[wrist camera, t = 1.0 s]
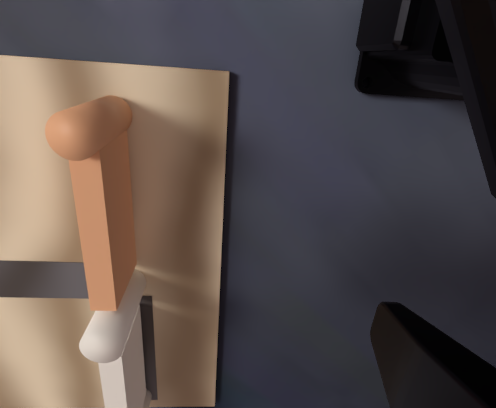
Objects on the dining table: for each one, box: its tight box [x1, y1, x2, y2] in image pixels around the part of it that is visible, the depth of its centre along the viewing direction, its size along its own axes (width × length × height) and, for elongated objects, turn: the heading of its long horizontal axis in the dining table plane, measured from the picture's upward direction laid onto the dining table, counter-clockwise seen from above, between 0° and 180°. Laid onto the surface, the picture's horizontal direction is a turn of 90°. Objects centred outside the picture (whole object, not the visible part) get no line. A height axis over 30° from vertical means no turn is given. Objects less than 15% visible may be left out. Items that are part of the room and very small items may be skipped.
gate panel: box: [45, 95, 137, 311], centre depth 16 cm, size 2×9×5 cm, turn 176°
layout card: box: [0, 55, 229, 408], centre depth 20 cm, size 17×24×1 cm
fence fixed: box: [79, 269, 152, 408], centre depth 20 cm, size 2×12×6 cm, turn 176°
